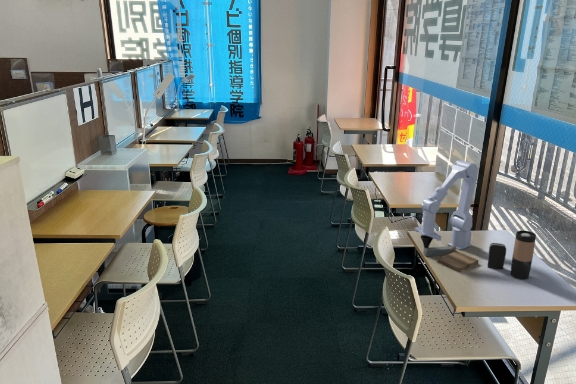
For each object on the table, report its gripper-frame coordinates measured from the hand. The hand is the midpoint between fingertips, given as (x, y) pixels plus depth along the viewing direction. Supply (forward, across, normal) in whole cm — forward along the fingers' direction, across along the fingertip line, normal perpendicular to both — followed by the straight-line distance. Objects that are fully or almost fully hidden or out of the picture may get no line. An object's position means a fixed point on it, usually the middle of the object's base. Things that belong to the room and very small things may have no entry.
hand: (426, 249), depth 217 cm
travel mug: (+2, +39, +15) cm, 42 cm away
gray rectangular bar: (+2, +4, +3) cm, 6 cm away
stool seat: (+2, +14, +4) cm, 15 cm away
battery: (+2, +28, +14) cm, 31 cm away
